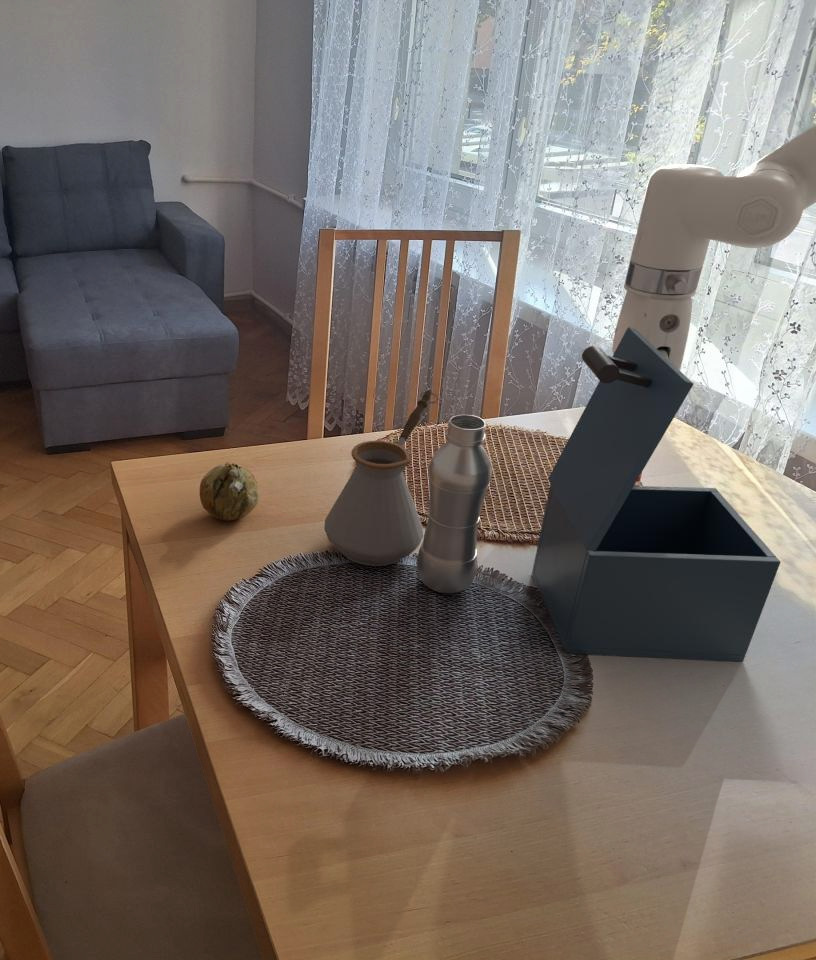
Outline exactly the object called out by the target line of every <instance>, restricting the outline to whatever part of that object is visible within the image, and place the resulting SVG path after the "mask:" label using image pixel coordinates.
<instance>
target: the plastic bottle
mask: <svg viewBox="0 0 816 960" xmlns="http://www.w3.org/2000/svg"><path fill="white" fill-rule="evenodd" d="M447 425H448V426H447V430H446V433H445V439H446V440H447V441H446V442H444V444H442V445H441V446H440V447H439V448H438V449H437V451H435V453H433V456H432V458H431V459H430V462H429V464H428V489H429V490H428V491H429V492H428V493H429V498H428V499H429V500H428V514H427V521H426V526H425V530H424V533H423V538H422V541H421V545H420V547H419V550H418V554H417V557H416V572H417V576H418V578H419V579H420V580H421V582H422V583H423V585H424V586H425V587H427V588H428V589H430V590H432V591H435V592H437V593H443V594H457V593H460V592H462V591H465V590H466V589H467V588H468V587H469V586H470V585H472V583H473V582H474V580H475V577H476V575H477V571H478V551H477V548H478V547H477V546H478V531H479V529H478V528H479V523H480V517H481V514H482V510H483V506H484V501H485V498H486V496H487V493H488V490H489V486H490V484H491V481H492V476H493V473H494V470H493V465H492V461H491V458H490V457H489V454H488V453H487V451H486V449H485V448H484V447H483V445H482V444H484V443H485V440H486V429H487V423H486V421H485V419H483V418H481V417H479V416H476V415H474V414H473V415H472V414H456V415H454V416H451V417H450V418H449V420H448V424H447Z"/></svg>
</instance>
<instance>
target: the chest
mask: <svg viewBox="0 0 816 960" xmlns="http://www.w3.org/2000/svg"><path fill="white" fill-rule="evenodd" d="M780 564H781V560H779V558H778V557H777V555H776V554H775V553H774V552H773V551H772V550H771V549H770V548H769V547H768V546H767V545H766V543H765V542H764V541H763V540H762V539H761V538H760V537H759V535H758V534H757V533H756V532H755V530H753V529H752V527H751V526H749V524H748V523H747V522H746V521H745V519H744V518H743V517H742V516H741V515H740V514H739V513H738V512H737V510H735V508H734V507H733V506H732V505H731V504H730V503H729V502H728V500H727V499H726V498H725V497H724V496H723V494H722V493H720V492H719V490H718V489H717V488H716V487H691V486H690V487H689V486H688V487H687V486H686V487H685V486H649V485H639V486H633V488H632V490H631V491H630V493H629V495H628V496H627V498H626V500H625V502H624V503H623V505H622V507H621V508H620V510H619V512H618V513H617V515H616V517H615V518H614V520H613V522H612V524H611V525H610V527H609V529H608V530H607V532H606V534H605V535H604V537H603V539H602V541H601V542H600V544H599V546H598V547H597V549H596V551H595V552H593V551H589V550H587V549H586V547H585V545H584V544H583V542H582V540H581V538H580V536H579V535H578V533H577V531H576V529H575V527H574V525H573V524H572V522H571V520H570V518H569V516H568V515H567V513H566V511H565V509H564V507H563V505H562V504H561V502H560V500H559V498H558V496H557V495H556V493H555V491H554V489H553V487H552V486H551V484H550V483H549V489H548V494H547V499H546V503H545V509H544V513H543V518H542V522H541V528H540V531H539V538H538V543H537V547H536V553H535V557H534V561H533V566H532V571H531V575H532V578H533V580H534V583H535V585H536V588H537V590H538V592H539V594H540V596H541V598H542V601H543V604H544V606H545V608H546V610H547V613H548V615H549V617H550V620H551V622H552V625H553V627H554V629H555V632H556V633H557V636H558V639H559V641H560V643H561V646H562V649H563V650H564V652H565V654H571V655H593V656H611V657H612V656H614V657H633V658H634V657H637V658H656V659H657V658H659V659H661V658H662V659H678V660H679V659H682V660H699V661H701V660H702V661H721V662H722V661H724V662H744V660H745V658H746V655H747V652H748V650H749V647H750V645H751V641H752V640H753V636H754V633H755V631H756V628H757V626H758V623H759V621H760V618H761V615H762V612H763V610H764V607H765V604H766V602H767V599H768V597H769V594H770V592H771V591H770V590H771V589H772V586H773V584H774V581H775V578H776V575H777V573H778V570H779V568H780Z"/></svg>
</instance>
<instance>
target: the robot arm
mask: <svg viewBox="0 0 816 960" xmlns="http://www.w3.org/2000/svg"><path fill="white" fill-rule="evenodd" d="M814 204H816V124H814V125H812V126H811V127H808V128H807V129H806V130H804V131H802V132H801V133H799V134H797V135H796V136H794V137H793V138H791V139H790V140H788V141H786V142H785V143H783V144H782V145H780V146H779V147H777V148H775V149H774V150H773V151H771V152H769V153H768V154H766V155H765V156H763V157H761V158H760V159H758V160H757V161H755V162H754V163H752V164H751V165H749V166H748V167H746V168H745V169H743V170H742V171H741V172H740V173H738V175H736V176H734V175H733V176H731V175H729V176H728V175H727V176H725V175H724V173H723V172H722V171H721V170H719V169H717V168H715V167H711V166H705V165H699V164H670V165H665V166H661V167H658V168H657V169H655V170H654V171H653V172H652V173H651V175H650V176H649V179H648V182H647V185H646V190H645V193H644V198H643V203H642V207H641V212H640V215H639V220H638V224H637V227H636V228H637V229H636V233H635V234H636V235H635V237H634V242H633V246H632V250H631V254H630V257H629V258H630V260H629V262H628V263H629V264H628V266H627V267H628V268H627V272H626V276H625V280H624V284H623V288H624V290H626V292H625V294H624V295H625V296H624V297H623V298H624V299H623V302H622V304H621V308H620V311H619V314H618V319H617V321H616V325H615V330H614V334H613V339H612V346H611V347H612V349H611V350H612V353H613V354H614V353H615V351H616V349H617V347H618V345H619V343H620V341H621V339H622V337H623V335H624V334H625V332H626V330H627V328H628V327H630V328H634V329H636V330H637V331H638V332H639V333H640V334H641V335H642V336H643V337H644V338H646V339H647V340H648V341H649V342H650V343H651V344H652V345H653V346H654V347H655V348H656V349H657V350H658V351H659V352H660V353H662V354H663V355H664V356H665V357H666V358H667V359H668V360H669V361H670V362H671V363H672V364H673V365H674V366H675V367H676V368H678V369H679V370H680V371H681V368H682V364H683V361H684V356H685V351H686V347H687V342H688V337H689V332H690V326H691V319H692V311H693V297H694V296H695V295H696V293H697V288H698V285H699V282H700V278H701V274H702V270H703V268H704V267H703V266H704V264H705V260H706V256H707V252H708V249H709V245H710V241H716V242H720V243H723V244H727V245H731V246H735V247H740V248H747V249H748V248H749V249H761V248H767V247H770V246H773V245H775V244H777V243H780V242H781V241H783V240H785V239H786V238H788V237H789V236H790V235H791V234H792V233H793V232H794V231H795V229H796V228H797V227H798V225H799V224H800V221H801V219H802V216H803V213H804V210H806V209H808V208H809V207H811V206H813V205H814Z"/></svg>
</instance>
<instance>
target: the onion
mask: <svg viewBox="0 0 816 960" xmlns="http://www.w3.org/2000/svg"><path fill="white" fill-rule="evenodd" d="M259 492H260V489H259V484H258V481H257V479H256V477H255V475H254V474H253V473H252V472H251V470H249V469H248V468H246V467H244V466H242V465H240V464H238V463H230V462H229V461H228V462H225V463H223V464H218V466H215V467H213V468H211V469H210V470H208V472H206V474H205V475H204V476H203V478H202V479H201V480H200V484H199V499H200V503H201V506H202V507H203V509H204V510H205V511H207V513H208V514H209V515H210V516H212V517H213V518H216V519H218V520H221V521H225V522H229V521H230V522H231V521H234V520H239V519H243V518H245V517H246V516H248V515H249V514H250V513H251V512H252V511H254V510H255V508H256V506H257V504H258V502H259V499H260V498H259V496H260V495H259Z"/></svg>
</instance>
